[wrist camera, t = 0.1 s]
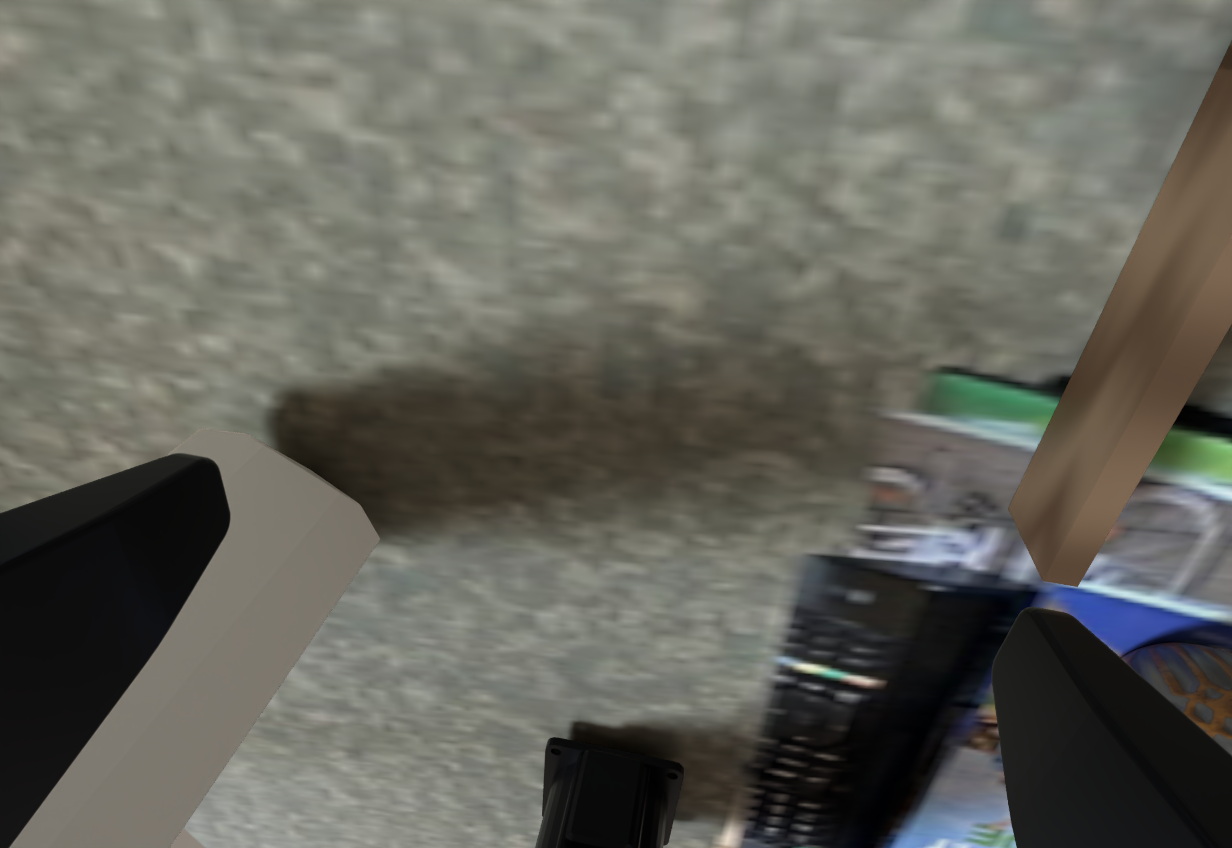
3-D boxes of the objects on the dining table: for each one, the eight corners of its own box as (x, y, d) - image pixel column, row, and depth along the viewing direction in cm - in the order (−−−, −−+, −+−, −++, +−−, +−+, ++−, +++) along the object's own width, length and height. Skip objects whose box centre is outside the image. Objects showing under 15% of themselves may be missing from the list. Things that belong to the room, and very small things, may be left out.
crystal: (410, 571, 31) (-249, 1678, 11) (254, 540, 32) (-643, 1528, 11) (398, 425, 27) (-683, 1747, 7) (220, 394, 28) (-1247, 1510, 7)
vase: (1319, 637, 25) (1554, 911, 18) (1205, 754, 29) (1360, 1020, 21) (1115, 594, 25) (1261, 842, 18) (1029, 714, 29) (1121, 961, 22)
